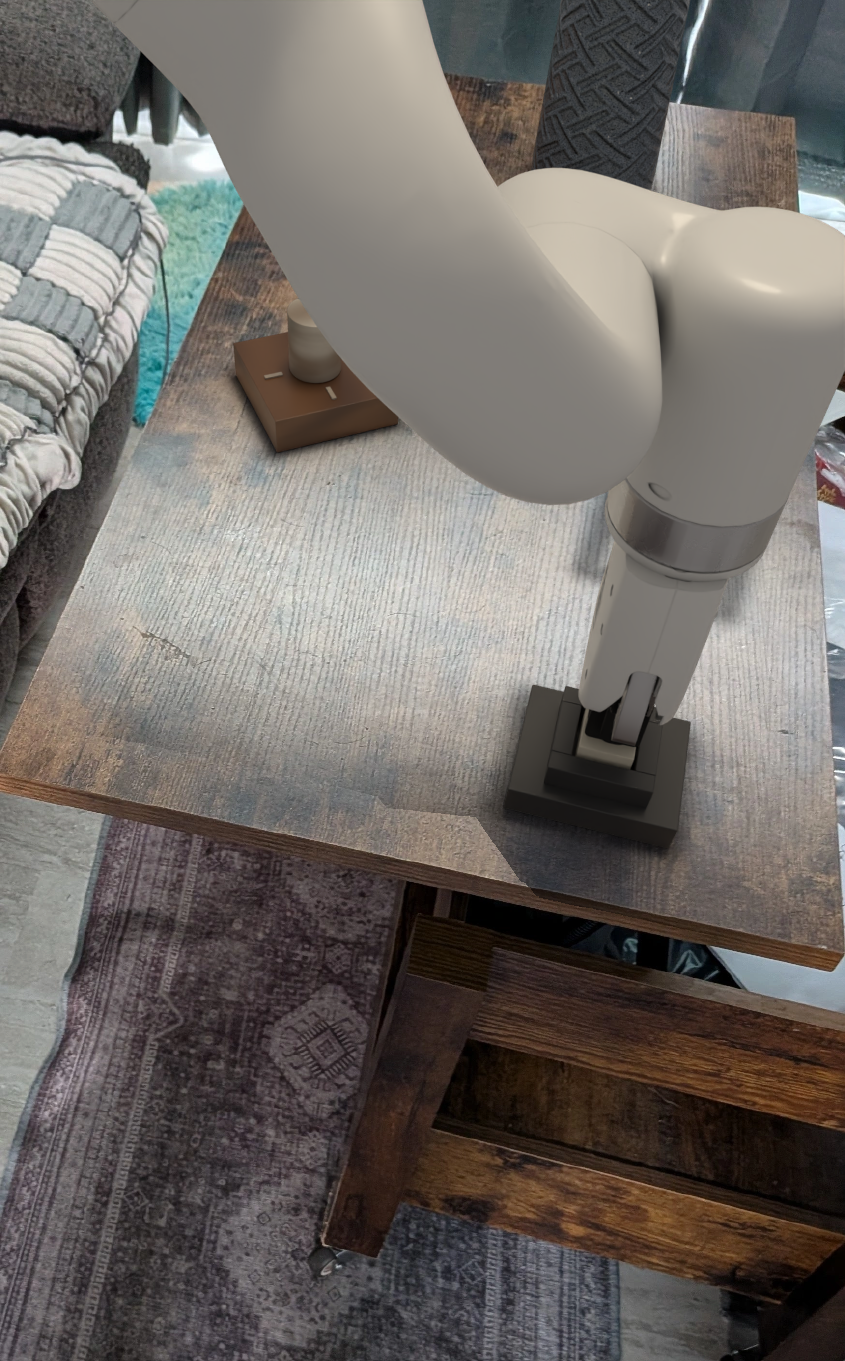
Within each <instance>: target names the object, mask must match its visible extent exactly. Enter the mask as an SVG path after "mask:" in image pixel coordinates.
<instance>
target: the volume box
mask: <svg viewBox="0 0 845 1361" xmlns="http://www.w3.org/2000/svg"><path fill="white" fill-rule="evenodd" d="M232 346H233V347H232V348H233V359H234V372H235V376H236V378H237V380H238V381H239V383H240V385H241V388H242V389H243V391H244V394H245V395H246V396H247V398H248V400H249V402H250V404H251V406H252V408H253V410H254V412H255V413H256V416H257V417H258V419H259V421H260V423H261V425H262V427H263V429H264V431H265V432H266V434H267V436H268V439H269V440H270V442H271V444H272V446H273V448H274V449H275V451H276V453H282V452H286V451H289V450H293V449H299V448H303V447H307V446H310V445H314V444H319V443H324V442H327V441H331V440H336V439H340V438H345V437H348V436H352V435H357V434H361V433H365V432H369V431H373V430H378V429H381V428H386V427H390V426H396V425H398V424H399V417H398V416H397V415H396V414H395V413H394V412H392V411H391V410H390V409H389V408H388V407H387V406H386V405H385V404H384V403H383V402H382V401H381V400H380V399H379V398H378V397H376V396H375V395H374V394H373V393H372V392H371V391H370V390H369V389H368V388H367V387H366V386H365V385H364V384H363V383H362V382H361V380H360V379H359V378H358V377H357V376H356V375H355V374H354V373H353V372H352V371H351V370H350V369H349V367H348V366H347V365H346V364H345V363H344V361H343V360H342V359H341V371H340V373H339V374H338V376H336V377H335V378H334V379H332V380H330V381H327V382H323V383H309V382H305V381H302V380H299V379H298V378H296V377H295V376H294V375H293V374H292V373H291V371H290V368H289V347H288V331H285V332H281V333H276V334H271V335H266V336H261V337H257V338H252V339H251V338H250V339H247V340H241V341H236V342H233V344H232Z"/></svg>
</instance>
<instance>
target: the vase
mask: <svg viewBox="0 0 845 1361" xmlns="http://www.w3.org/2000/svg"><path fill="white" fill-rule="evenodd" d="M690 2H691V0H560V3H559V4H560V5H559V10H558V14H557V15H558V16H557V21H556V26H555V31H554V32H555V33H554V37H553V41H552V42H553V43H552V48H551V53H550V59H549V65H548V71H547V76H546V81H545V86H544V92H543V93H544V94H543V97H542V103H541V109H540V115H539V118H538V126H537V131H536V136H535V140H534V141H535V142H534V146H533V152H532V159H531V167H530V171H532V170H537V169H546V168H567V169H576V170H583V171H587V172H592V173H596V174H600V175H603V176H607V177H610V178H614V179H617V180H620V181H623V182H626V183H629V184H633V185H636V186H638V187H641V188H644V189H647V190H650V191H652V189H653V186H654V181H655V176H656V172H657V168H658V167H657V166H658V162H659V158H660V152H661V147H662V142H663V138H664V132H665V126H666V123H667V122H666V121H667V117H668V112H669V108H670V102H671V97H672V92H673V88H674V83H675V77H676V74H677V68H678V62H679V58H680V53H681V49H682V48H681V47H682V43H683V37H684V32H685V28H686V23H687V18H688V13H689V8H690V4H691V3H690Z"/></svg>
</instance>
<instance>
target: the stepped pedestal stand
mask: <svg viewBox="0 0 845 1361" xmlns="http://www.w3.org/2000/svg"><path fill="white" fill-rule="evenodd" d="M529 692H530V693H529V697H528V700H527V705H526V709H525V714H524V718H523V722H522V726H521V731H520V734H519V739H518V743H517V747H516V751H515V755H514V758H513V763H512V768H511V772H510V776H509V780H508V785H507V790H506V793H505V797H504V802H503V806H502V807H503V808H504V809H507V810H511V811H515V812H519V813H522V814H527V815H531V816H534V817H539V818H543V819H546V820H551V821H556V822H559V823H564V824H567V825H572V826H575V827H579V828H582V829H588V830H592V831H596V832H599V833H603V834H606V835H607V834H608V835H612V836H614V837H619V838H623V839H628V840H631V841H635V842H639V843H644V844H648V845H652V846H655V847H660V848H663V849H670V847H671V846H672V843H673V841H674V839H675V837H676V835H677V834H678V831H679V827H680V826H679V824H680V817H681V809H682V808H681V807H682V800H683V792H684V783H685V775H686V767H687V758H688V750H689V742H690V733H691V725H692V722H691V721H690V720H686V719H681V718H677V717H673V718H672V719H671V720H670V721H668V722H667V723H665V724H663V725H659V721H657V720H655V714H656V706H654V710H653V712H652V715H651V717H650V720H649V722H648V725H647V728H646V730H645V733H644V735H643V738H642V740H641V743H640V745H639V746H638V747H636V750H635V756H634V761H633V763H632V766H631V768H630V770H629V769H625V768H621V767H617V766H613V765H609V764H604V763H600V762H596V761H592V760H588V759H584V758H580V757H575V754H576V749H577V744H578V739H579V734H580V729H581V723H582V719H583V716H584V713H585V710H586V708H584V707H583V705H582V704H581V702H580V700H579V697H578V693H579V688H578V687H572V686H568V685H565V686H564V690H559V689H554V688H550V687H545V686H541V685H538V684H532V685H531V688H530V691H529Z"/></svg>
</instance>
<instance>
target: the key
mask: <svg viewBox="0 0 845 1361" xmlns="http://www.w3.org/2000/svg"><path fill="white" fill-rule="evenodd" d="M588 712H589V709H587V708H586V710H585V713H584V716H583V719H582V723H581V729H580V734H579V739H578V744H577V749H576V754H575V757H580V758H584V759H588V760H592V761H596V762H600V763H604V764H609V765H613V766H617V767H621V768H625V769H629V770H630V768H631V766H632V763H633V761H634V756H635V750H636V747H630V746H626V745H614V744H610V743H607V742H604V741H603V740H601V739H597V738H593V737H589V736H587V735H586V734H585V728H586V724H587V720H588Z"/></svg>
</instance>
